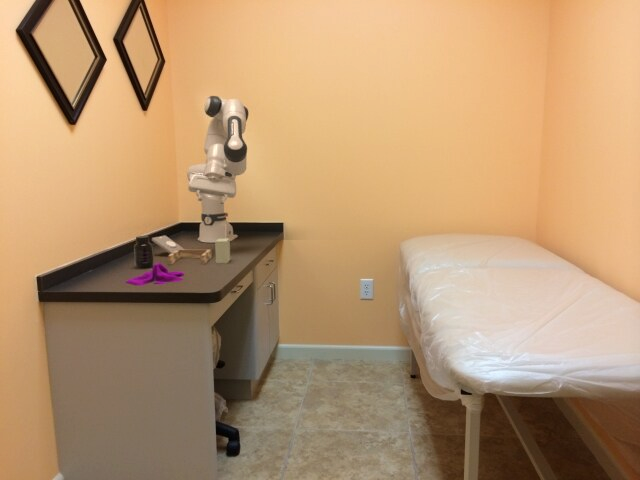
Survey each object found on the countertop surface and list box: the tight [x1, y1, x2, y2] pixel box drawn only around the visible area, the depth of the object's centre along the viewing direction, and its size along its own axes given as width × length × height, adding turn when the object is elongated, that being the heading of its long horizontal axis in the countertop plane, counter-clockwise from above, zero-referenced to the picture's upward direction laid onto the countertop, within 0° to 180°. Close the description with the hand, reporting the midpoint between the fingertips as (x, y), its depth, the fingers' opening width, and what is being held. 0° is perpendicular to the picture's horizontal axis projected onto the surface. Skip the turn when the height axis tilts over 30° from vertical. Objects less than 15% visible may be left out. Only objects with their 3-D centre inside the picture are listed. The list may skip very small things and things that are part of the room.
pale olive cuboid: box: [214, 239, 231, 264], centre depth 203 cm, size 7×4×9 cm, turn 0°
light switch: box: [151, 235, 186, 255], centre depth 219 cm, size 8×6×14 cm
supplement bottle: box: [133, 235, 155, 269], centre depth 195 cm, size 7×7×12 cm
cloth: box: [125, 262, 185, 287], centre depth 175 cm, size 22×19×6 cm
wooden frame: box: [167, 248, 213, 266], centre depth 206 cm, size 14×14×4 cm
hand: (211, 201), depth 212 cm, fingers open, 8 cm apart
